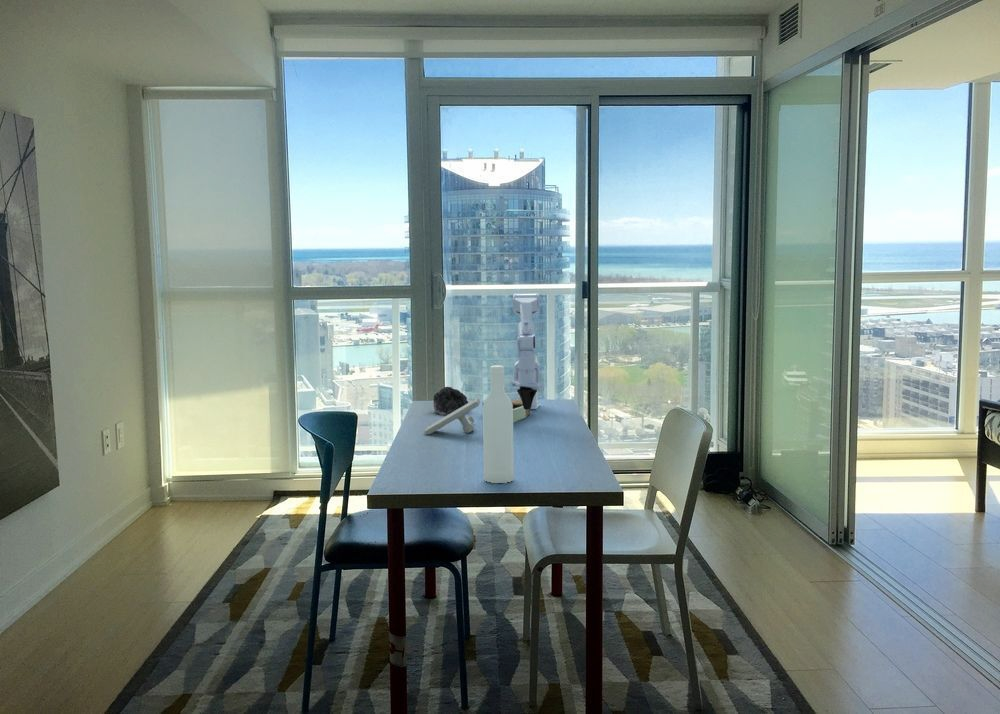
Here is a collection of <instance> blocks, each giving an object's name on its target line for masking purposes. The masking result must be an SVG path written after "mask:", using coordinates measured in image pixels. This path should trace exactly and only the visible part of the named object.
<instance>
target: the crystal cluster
mask: <svg viewBox="0 0 1000 714" xmlns="http://www.w3.org/2000/svg"><path fill="white" fill-rule="evenodd" d="M467 403H469V401H468V397H467V396H466V395H465V394H464V393H463V392H461V391H460V390H459V389H456V388H455V389H454V388H453V387H451V386H444V387H443V388H441V389H440V390H439V391H437V392H436V393H435V394H434V395H433V409H434V411H433V413H434V414H438V413H439V414H438V415H441V414H444V415H443V416H447V415H448V414H450V413H452V412H454V411H456V410H457V409H459V408H461V407H462V406H464V405H466V404H467Z"/></svg>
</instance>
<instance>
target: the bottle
mask: <svg viewBox="0 0 1000 714" xmlns="http://www.w3.org/2000/svg"><path fill="white" fill-rule="evenodd" d="M505 372H506V371H505V367H504V365H491V366H490V367H489V378H490V379H489V380H490V382H489V383H490V384H489V386H490V388H489V389H490V390H489V391H490V392H489V394H488V395H487V396H486V397H485V399H484V400H483V402H484V404H483V403H482V425H483V426H482V436H483V437H482V438H483V439H482V441H483V477H484V478H483V480H484V481H485V482H486V481H487V482H491V483H505V484H508V483H507V482H510V483H512V482H513V481H514V480H515V477H514V475H515V467H514V465H515V461H514V422H513V405H512V402H511V400H512V399H511V397H509V396H508V395H507V394H506V392H505ZM511 481H512V482H511ZM487 482H486V483H487ZM491 483H490V484H491Z"/></svg>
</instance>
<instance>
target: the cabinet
mask: <svg viewBox="0 0 1000 714" xmlns="http://www.w3.org/2000/svg"><path fill="white" fill-rule="evenodd" d="M510 400H511V402H512V405H513V409H515V408H518V407H521V406H523V403H522V400H518V399H510ZM483 404H484V401H483V402H482V405H483ZM530 412H531V409H527V410H526V415H527V416H528V415H529V414H531V413H530ZM528 417H529V416H528Z"/></svg>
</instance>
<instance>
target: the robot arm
mask: <svg viewBox="0 0 1000 714" xmlns="http://www.w3.org/2000/svg"><path fill="white" fill-rule="evenodd" d="M540 300H541V299H540V294H539V293H538V292H537V293H513V295H512V310H513V313H514V315H516V316H519V318H520V321H519V323H518V325H517V329H518V331H517V332H518V333H517V335H518V336H517V337H516V350H517V357H518V360H517V361H516V362H515V364H514V369H513V374H514V375H513V380H510V387H517V389H516V392H517V400H522V403H523V407H524V409H526V410H527V409H530V410H538V408H539V407H540V406H541V403H538V392H540V391H544V390H545V384H543V383H540V382H541V367H540V366H541V365H540V362H539V361H537V360H536V350H537V336H536V331H535V329H536V327H535V323H534V322H533V319H534V317H535V316H536V315H538V314H539V312H540V305H541V304H540V303H541V301H540Z"/></svg>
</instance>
